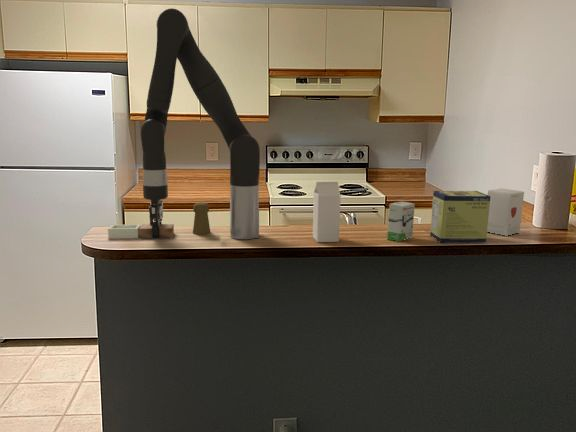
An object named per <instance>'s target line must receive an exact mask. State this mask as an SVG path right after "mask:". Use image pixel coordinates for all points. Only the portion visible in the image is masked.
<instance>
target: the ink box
mask: <svg viewBox="0 0 576 432" xmlns="http://www.w3.org/2000/svg"><path fill="white" fill-rule="evenodd" d="M415 205H416V204H415V203H412V202H408V201H403V200H402V201H398V202H393V203H390V204H389V205H388V207H389V208H388V220H387V221H388V223H387V224H388V225H387V236H386V237H387V240H388V239H389V241H393V240H395V241H394V242H398V241H401V242H403V241H402V240H404V239H407V238H410V237H412V238H413V229H414V217H415ZM410 239H411V238H410ZM407 240H408V239H407ZM404 241H405V240H404Z"/></svg>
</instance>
